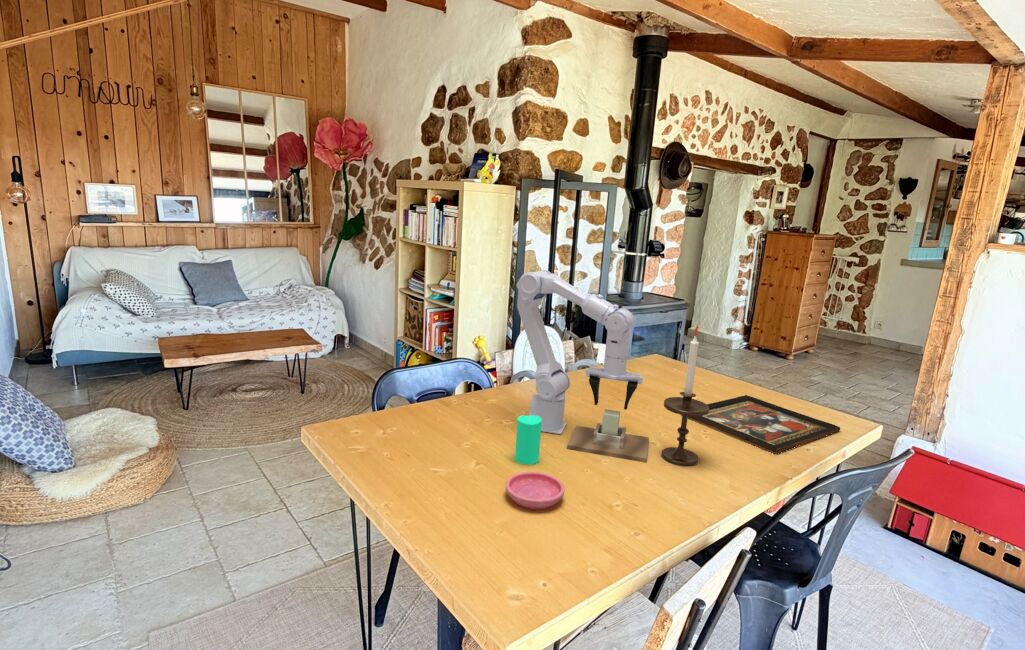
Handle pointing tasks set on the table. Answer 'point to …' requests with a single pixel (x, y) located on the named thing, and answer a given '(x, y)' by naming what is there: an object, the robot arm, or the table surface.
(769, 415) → the religious icon
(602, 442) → the brown socket board
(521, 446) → the green upright cylinder
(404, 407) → the table surface
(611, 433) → the rectangular block
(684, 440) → the candlestick
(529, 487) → the saucer
